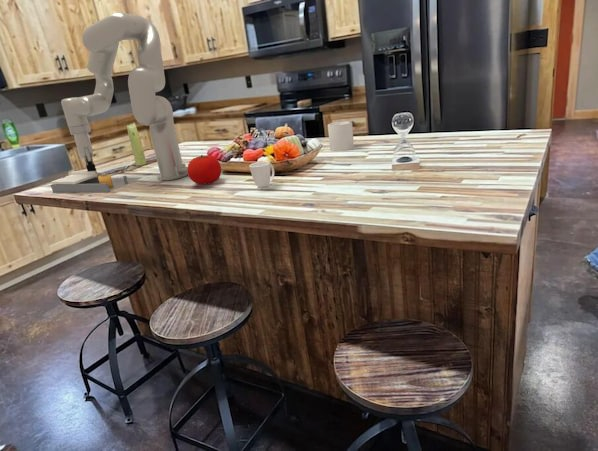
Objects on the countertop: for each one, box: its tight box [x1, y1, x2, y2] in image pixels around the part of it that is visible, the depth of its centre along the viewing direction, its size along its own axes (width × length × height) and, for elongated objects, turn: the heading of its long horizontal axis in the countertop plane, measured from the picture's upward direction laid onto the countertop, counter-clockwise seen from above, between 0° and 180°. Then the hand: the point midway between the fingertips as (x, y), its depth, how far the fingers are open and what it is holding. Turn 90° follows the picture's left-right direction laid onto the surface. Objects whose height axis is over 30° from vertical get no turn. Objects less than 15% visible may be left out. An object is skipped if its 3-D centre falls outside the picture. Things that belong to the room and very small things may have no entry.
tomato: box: [187, 154, 222, 185], centre depth 152 cm, size 11×12×10 cm
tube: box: [126, 122, 148, 167], centre depth 200 cm, size 6×5×20 cm
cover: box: [50, 170, 98, 185], centre depth 172 cm, size 15×11×5 cm
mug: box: [327, 120, 355, 152], centre depth 180 cm, size 14×10×11 cm
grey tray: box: [50, 175, 143, 194], centre depth 173 cm, size 30×20×4 cm, turn 68°
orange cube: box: [97, 173, 114, 188], centre depth 166 cm, size 5×5×5 cm
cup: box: [248, 160, 275, 191], centre depth 139 cm, size 7×10×8 cm
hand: (92, 173), depth 176 cm, fingers closed
